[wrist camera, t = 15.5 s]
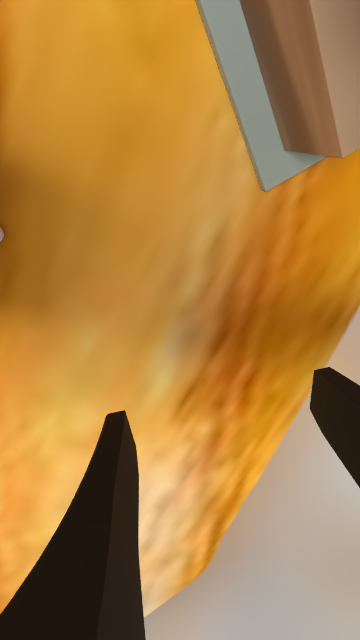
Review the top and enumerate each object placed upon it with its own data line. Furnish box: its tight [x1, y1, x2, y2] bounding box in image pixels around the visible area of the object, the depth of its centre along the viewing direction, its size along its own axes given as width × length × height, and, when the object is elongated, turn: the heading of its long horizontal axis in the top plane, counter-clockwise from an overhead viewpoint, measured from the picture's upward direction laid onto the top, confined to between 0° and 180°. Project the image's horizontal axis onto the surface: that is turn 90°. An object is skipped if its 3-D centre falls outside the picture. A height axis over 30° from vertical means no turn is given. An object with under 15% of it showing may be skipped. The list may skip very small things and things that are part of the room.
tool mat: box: [195, 0, 328, 192], centre depth 14 cm, size 6×13×1 cm, turn 27°
